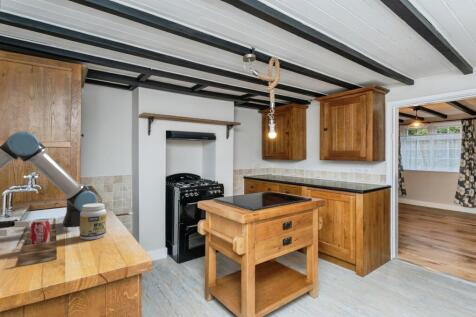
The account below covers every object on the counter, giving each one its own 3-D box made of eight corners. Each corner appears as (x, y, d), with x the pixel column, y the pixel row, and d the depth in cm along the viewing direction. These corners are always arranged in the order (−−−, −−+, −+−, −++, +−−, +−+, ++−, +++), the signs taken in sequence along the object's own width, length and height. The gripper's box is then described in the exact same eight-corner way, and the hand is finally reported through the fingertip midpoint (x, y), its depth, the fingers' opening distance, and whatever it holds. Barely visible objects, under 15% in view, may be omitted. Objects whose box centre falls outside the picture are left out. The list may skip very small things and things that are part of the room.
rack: (56, 237, 136) (56, 229, 136) (56, 259, 108) (56, 249, 108) (26, 241, 129) (26, 232, 129) (19, 266, 101) (19, 255, 101)
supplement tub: (87, 242, 129) (87, 208, 129) (75, 237, 136) (75, 205, 135) (110, 235, 139) (111, 204, 139) (98, 231, 146) (98, 201, 146)
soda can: (53, 244, 120) (53, 219, 120) (37, 250, 114) (37, 222, 114) (42, 242, 123) (43, 217, 123) (26, 247, 116) (26, 221, 116)
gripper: (-9, 228, 128) (37, 228, 130) (-62, 247, 103) (-4, 246, 105) (-9, 213, 128) (37, 213, 130) (-62, 228, 103) (-4, 227, 105)
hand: (19, 228), depth 117 cm, fingers open, 13 cm apart
